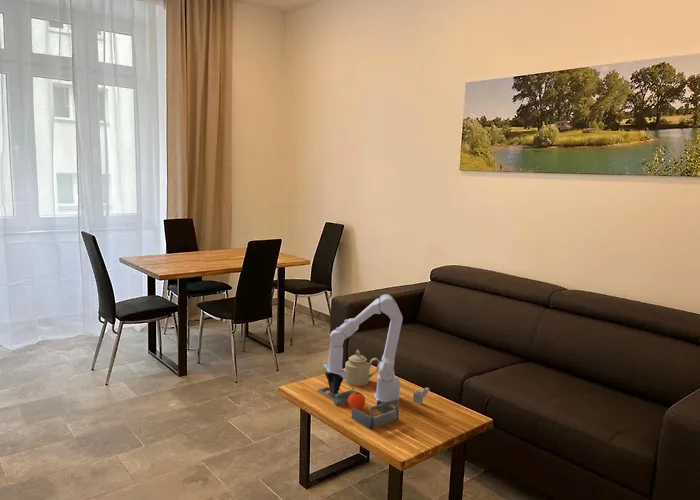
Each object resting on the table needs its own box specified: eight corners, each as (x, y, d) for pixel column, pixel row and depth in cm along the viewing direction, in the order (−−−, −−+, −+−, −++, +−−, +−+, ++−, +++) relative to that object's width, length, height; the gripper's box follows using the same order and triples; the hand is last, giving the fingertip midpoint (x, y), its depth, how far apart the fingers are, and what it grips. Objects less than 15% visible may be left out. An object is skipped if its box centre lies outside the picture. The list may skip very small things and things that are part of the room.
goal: (351, 418, 209) (352, 397, 208) (378, 409, 219) (380, 389, 218) (370, 429, 201) (372, 408, 200) (398, 419, 210) (400, 399, 209)
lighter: (412, 401, 228) (413, 383, 227) (415, 400, 229) (416, 382, 228) (425, 407, 223) (427, 388, 222) (428, 406, 224) (429, 387, 223)
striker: (321, 396, 227) (322, 382, 227) (340, 391, 234) (340, 377, 233) (336, 405, 220) (337, 390, 219) (355, 399, 226) (356, 385, 225)
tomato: (342, 406, 220) (343, 389, 219) (357, 402, 224) (357, 386, 223) (353, 413, 213) (354, 396, 212) (368, 410, 217) (369, 393, 216)
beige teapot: (365, 373, 257) (367, 343, 255) (380, 381, 248) (382, 350, 246) (339, 379, 248) (341, 348, 246) (354, 388, 239) (356, 355, 237)
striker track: (317, 391, 233) (317, 389, 233) (327, 388, 237) (327, 386, 237) (337, 402, 223) (337, 400, 223) (347, 399, 227) (347, 397, 227)
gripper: (317, 355, 230) (316, 386, 232) (339, 365, 219) (337, 397, 221) (330, 352, 234) (329, 382, 236) (352, 362, 223) (350, 393, 225)
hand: (334, 389), depth 229 cm, fingers closed on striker, 2 cm apart
